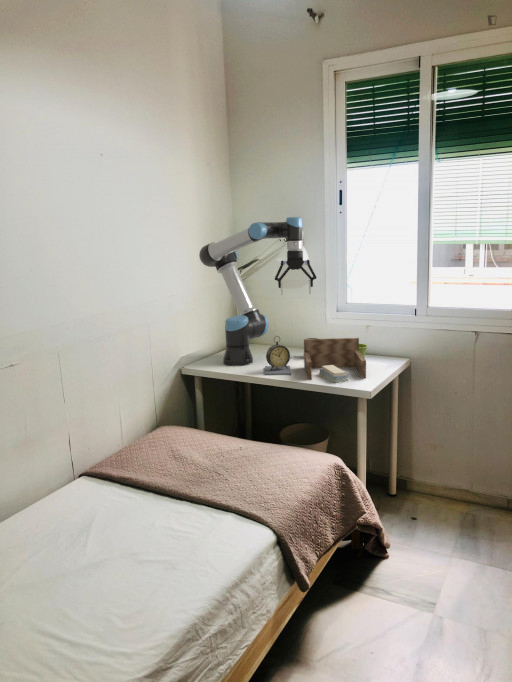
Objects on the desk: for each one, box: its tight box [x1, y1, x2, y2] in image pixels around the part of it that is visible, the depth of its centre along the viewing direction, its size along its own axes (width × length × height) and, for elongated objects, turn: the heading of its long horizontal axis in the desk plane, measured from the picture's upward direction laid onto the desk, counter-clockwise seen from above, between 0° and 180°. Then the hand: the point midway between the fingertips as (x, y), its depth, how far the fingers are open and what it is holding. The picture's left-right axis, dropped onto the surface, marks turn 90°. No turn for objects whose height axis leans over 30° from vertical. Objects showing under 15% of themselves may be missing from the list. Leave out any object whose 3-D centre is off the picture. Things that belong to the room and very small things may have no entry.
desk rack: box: [303, 337, 367, 380], centre depth 244 cm, size 26×22×14 cm
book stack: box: [318, 365, 349, 384], centre depth 237 cm, size 16×7×4 cm, turn 20°
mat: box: [264, 364, 292, 376], centre depth 252 cm, size 12×14×1 cm
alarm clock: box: [265, 335, 291, 371], centre depth 250 cm, size 11×5×16 cm, turn 113°
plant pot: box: [359, 343, 368, 359], centre depth 262 cm, size 9×9×9 cm
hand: (295, 294), depth 258 cm, fingers open, 13 cm apart
